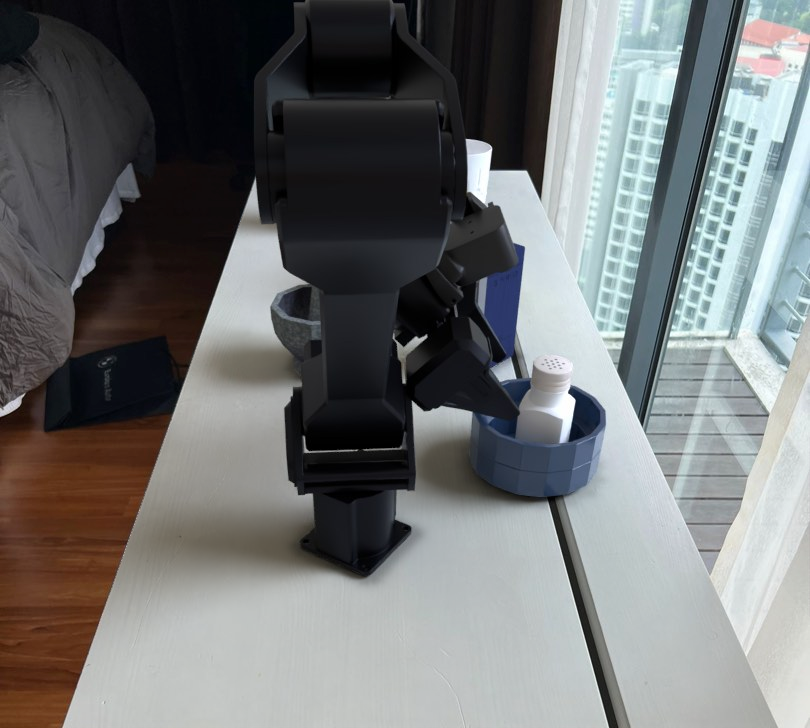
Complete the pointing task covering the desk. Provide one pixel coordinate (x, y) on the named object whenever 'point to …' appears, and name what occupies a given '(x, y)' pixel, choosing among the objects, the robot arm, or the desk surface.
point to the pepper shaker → (547, 403)
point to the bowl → (538, 449)
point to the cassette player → (502, 302)
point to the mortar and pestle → (296, 319)
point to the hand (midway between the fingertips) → (508, 386)
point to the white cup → (478, 167)
